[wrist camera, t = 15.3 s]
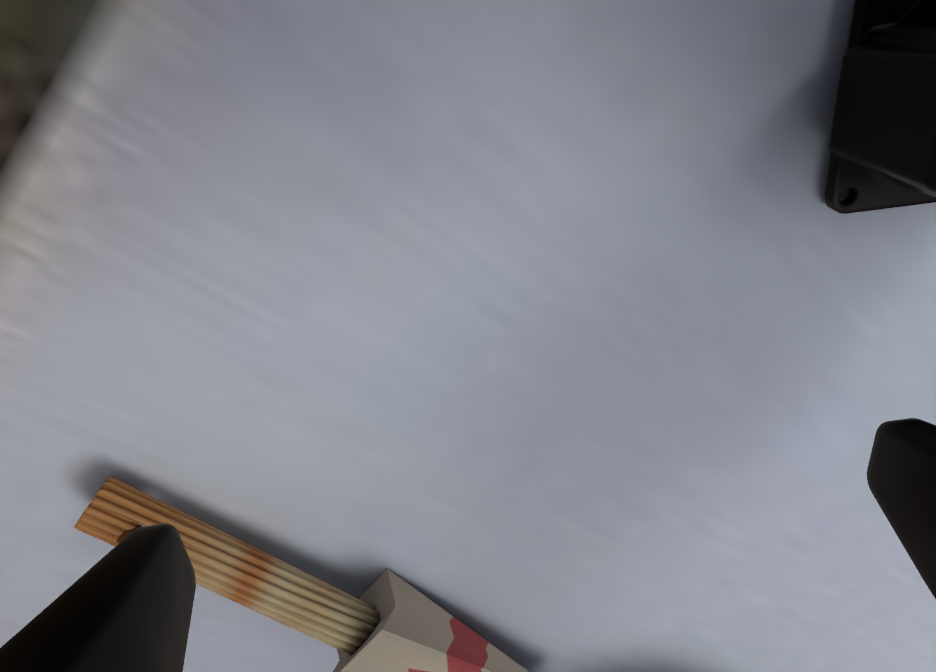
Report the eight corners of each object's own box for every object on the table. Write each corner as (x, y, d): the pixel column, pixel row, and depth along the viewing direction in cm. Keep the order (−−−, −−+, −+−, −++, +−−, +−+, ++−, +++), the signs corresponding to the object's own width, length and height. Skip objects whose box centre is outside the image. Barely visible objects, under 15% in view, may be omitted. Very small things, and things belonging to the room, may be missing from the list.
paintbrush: (522, 780, 27) (45, 566, 21) (514, 716, 30) (86, 507, 23) (587, 731, 26) (101, 487, 20) (573, 668, 28) (138, 434, 22)
